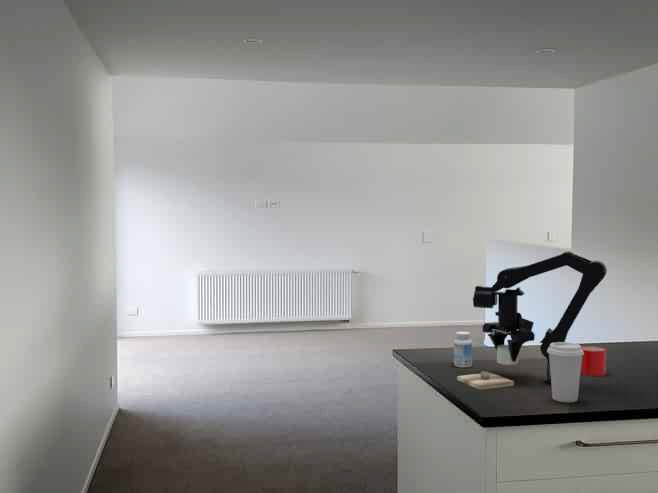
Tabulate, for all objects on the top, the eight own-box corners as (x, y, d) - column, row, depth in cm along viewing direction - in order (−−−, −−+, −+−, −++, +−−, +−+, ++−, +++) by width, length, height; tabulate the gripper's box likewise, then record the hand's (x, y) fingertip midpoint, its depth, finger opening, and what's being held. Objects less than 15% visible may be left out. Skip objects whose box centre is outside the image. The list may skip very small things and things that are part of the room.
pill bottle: (471, 363, 220) (471, 331, 220) (473, 368, 214) (473, 334, 214) (453, 363, 221) (453, 330, 220) (454, 367, 215) (454, 334, 214)
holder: (513, 385, 193) (513, 374, 192) (479, 389, 188) (479, 378, 188) (489, 376, 204) (489, 365, 204) (457, 380, 199) (457, 369, 199)
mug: (571, 366, 215) (571, 343, 214) (609, 372, 207) (609, 348, 206) (562, 371, 209) (562, 347, 208) (600, 377, 201) (601, 352, 200)
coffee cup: (574, 393, 183) (575, 341, 182) (589, 403, 174) (590, 348, 173) (541, 394, 183) (541, 341, 182) (554, 404, 173) (554, 349, 173)
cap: (521, 363, 200) (521, 347, 199) (505, 365, 197) (505, 349, 197) (509, 359, 205) (509, 343, 205) (493, 361, 203) (493, 345, 203)
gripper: (549, 311, 195) (548, 363, 196) (510, 303, 212) (510, 350, 213) (519, 314, 191) (518, 366, 192) (481, 305, 208) (481, 354, 209)
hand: (507, 359), depth 201 cm, fingers closed on cap, 6 cm apart
